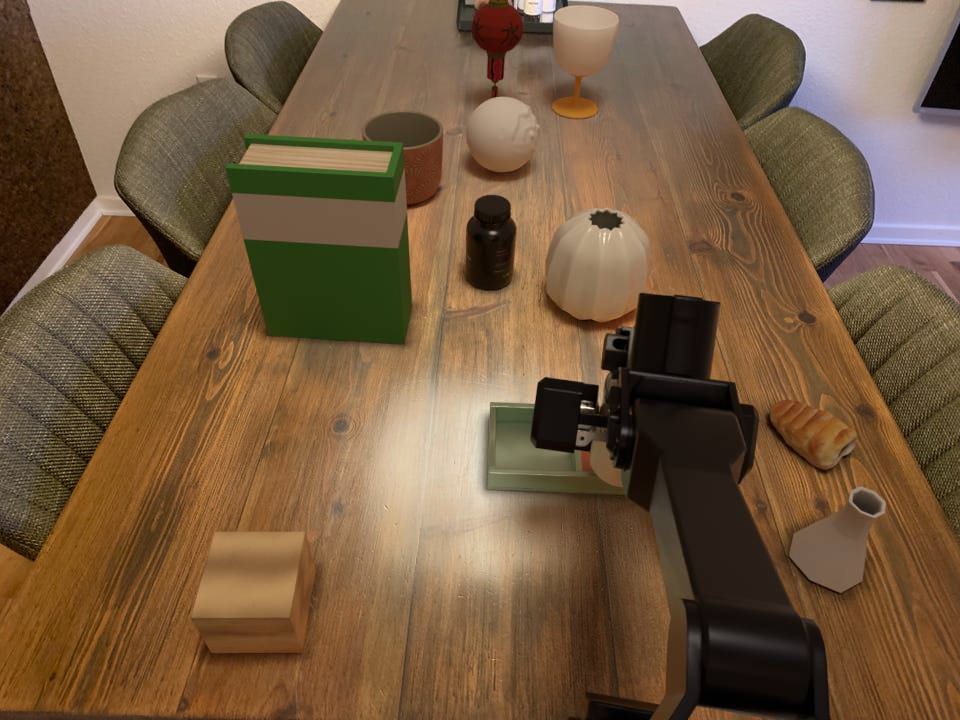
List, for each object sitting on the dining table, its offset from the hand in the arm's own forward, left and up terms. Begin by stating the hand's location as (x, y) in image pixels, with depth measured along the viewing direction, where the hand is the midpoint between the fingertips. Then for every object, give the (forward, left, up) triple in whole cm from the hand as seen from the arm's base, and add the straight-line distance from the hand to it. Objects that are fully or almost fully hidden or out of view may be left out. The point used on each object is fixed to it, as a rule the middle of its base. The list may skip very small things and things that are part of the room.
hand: (630, 418), depth 69 cm
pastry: (+13, -20, -10) cm, 26 cm away
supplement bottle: (+28, +24, -10) cm, 39 cm away
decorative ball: (+57, +32, -10) cm, 66 cm away
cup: (+84, +26, -10) cm, 88 cm away
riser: (-26, +27, -10) cm, 39 cm away
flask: (-2, -22, -10) cm, 24 cm away
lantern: (+77, +40, -10) cm, 88 cm away
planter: (+44, +44, -10) cm, 63 cm away
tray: (+2, +5, -10) cm, 11 cm away
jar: (-1, 0, -5) cm, 5 cm away
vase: (+28, +9, -10) cm, 31 cm away
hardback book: (+12, +39, -10) cm, 42 cm away
